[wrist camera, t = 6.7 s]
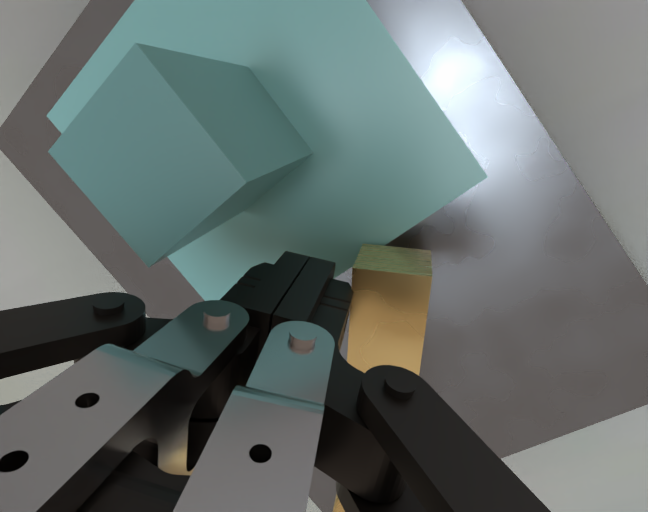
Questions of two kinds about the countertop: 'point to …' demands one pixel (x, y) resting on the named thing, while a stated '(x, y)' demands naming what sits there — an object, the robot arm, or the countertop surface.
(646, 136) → the countertop surface
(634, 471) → the countertop surface
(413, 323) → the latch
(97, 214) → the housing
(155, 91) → the cover
